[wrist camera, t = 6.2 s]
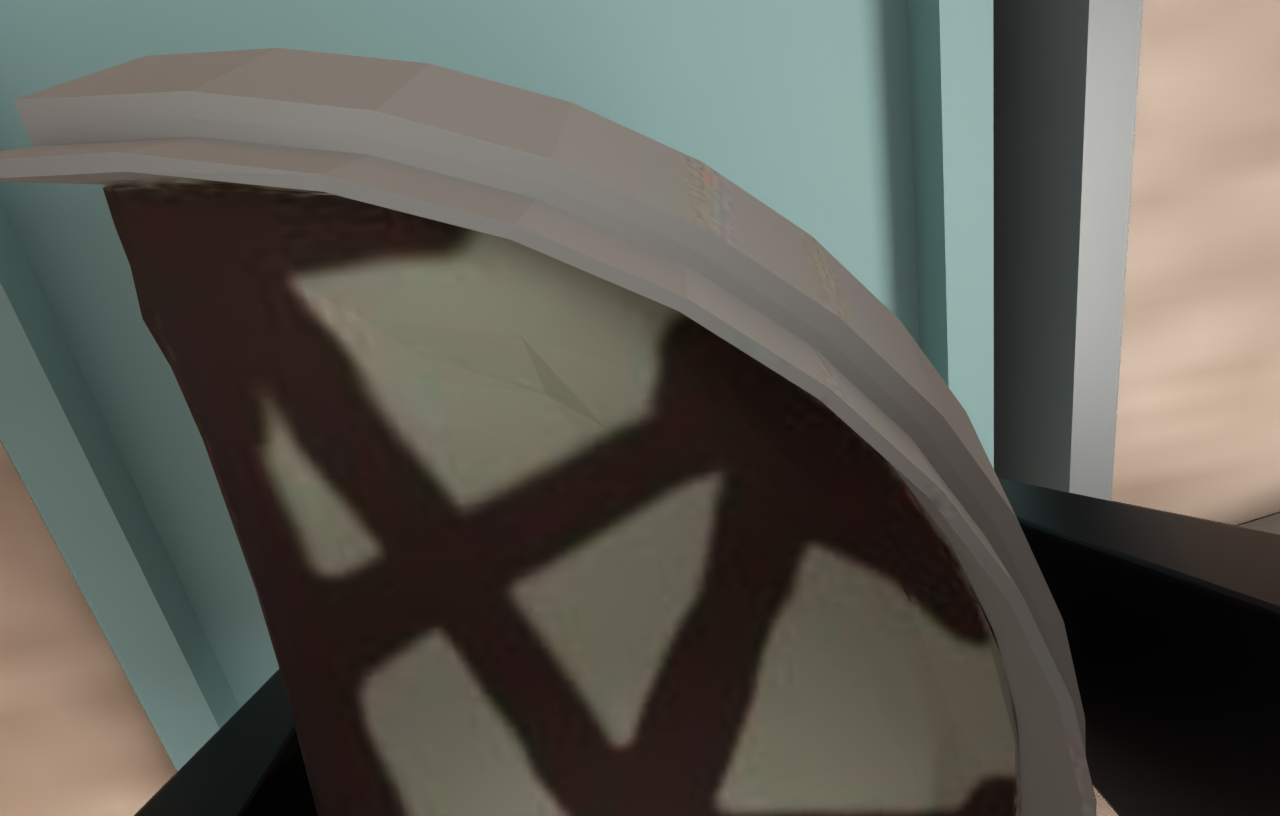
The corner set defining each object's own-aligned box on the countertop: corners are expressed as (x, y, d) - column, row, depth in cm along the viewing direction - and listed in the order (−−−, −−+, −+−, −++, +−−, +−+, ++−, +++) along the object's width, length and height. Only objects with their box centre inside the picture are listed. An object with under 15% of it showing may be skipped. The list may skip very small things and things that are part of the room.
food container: (836, 654, 17) (1108, 1328, 8) (554, 691, 17) (482, 1398, 8) (803, 25, 12) (1363, -191, 3) (420, 81, 13) (-129, 30, 3)
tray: (946, 676, 21) (994, 729, 19) (298, 885, 19) (281, 968, 17) (915, -380, 13) (993, -462, 11) (-262, -258, 10) (-413, -338, 9)
